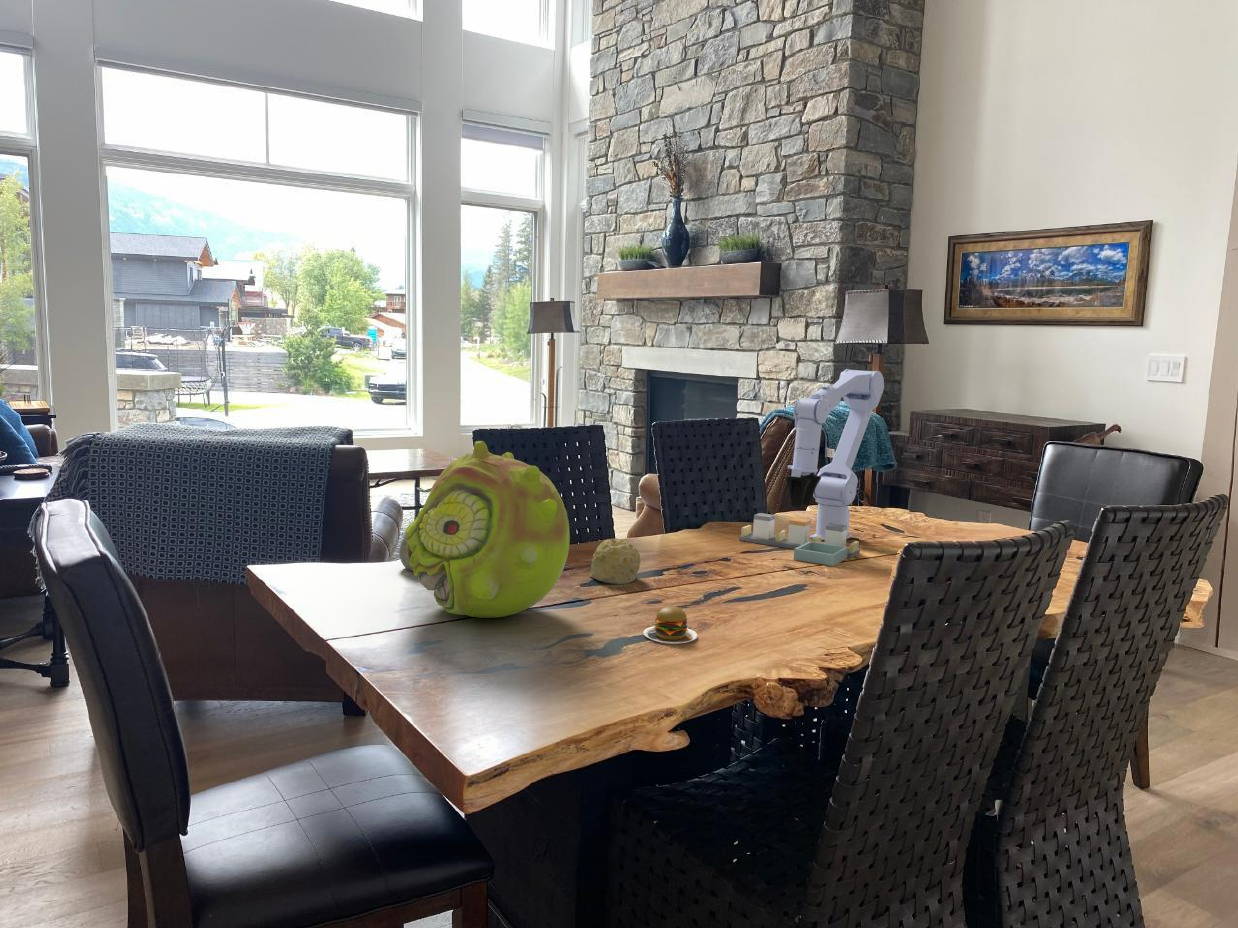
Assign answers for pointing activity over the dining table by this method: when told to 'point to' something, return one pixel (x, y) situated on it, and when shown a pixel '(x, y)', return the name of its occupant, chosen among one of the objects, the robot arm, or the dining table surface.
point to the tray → (820, 553)
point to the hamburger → (670, 625)
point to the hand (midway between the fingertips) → (800, 505)
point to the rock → (615, 562)
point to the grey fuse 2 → (836, 534)
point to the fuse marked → (799, 531)
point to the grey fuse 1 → (763, 526)
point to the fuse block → (782, 541)
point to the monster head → (489, 536)
